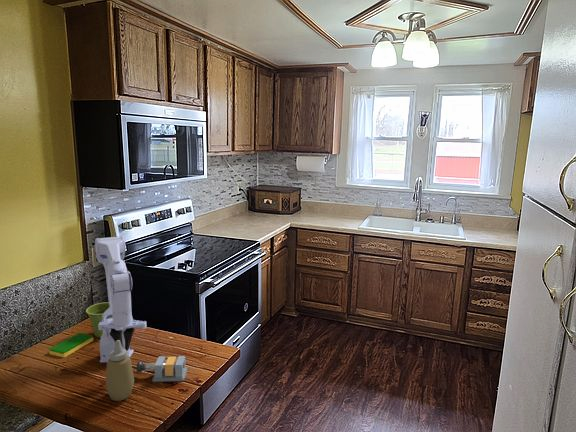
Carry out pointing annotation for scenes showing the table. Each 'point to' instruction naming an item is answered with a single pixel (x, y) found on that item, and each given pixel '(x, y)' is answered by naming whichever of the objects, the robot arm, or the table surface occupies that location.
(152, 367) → the shaft
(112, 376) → the squeeze bottle
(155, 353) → the table surface
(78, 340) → the dish sponge
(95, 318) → the plant pot
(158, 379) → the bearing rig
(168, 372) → the block
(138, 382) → the table surface
